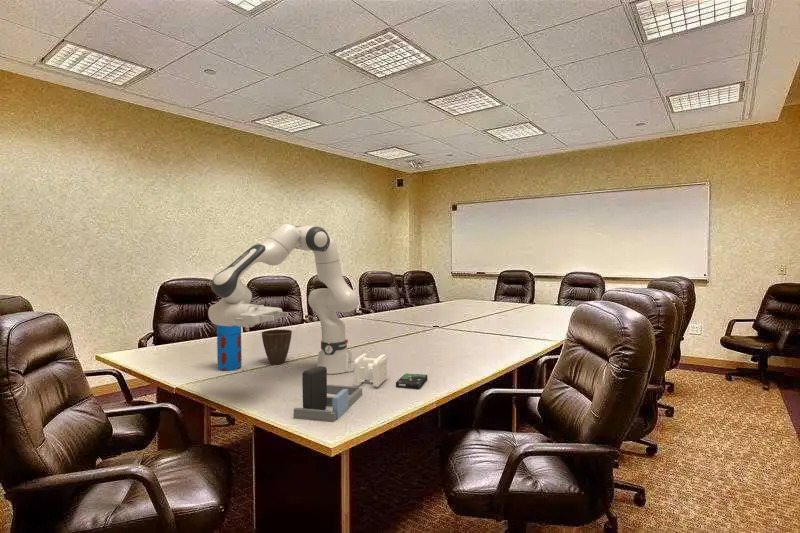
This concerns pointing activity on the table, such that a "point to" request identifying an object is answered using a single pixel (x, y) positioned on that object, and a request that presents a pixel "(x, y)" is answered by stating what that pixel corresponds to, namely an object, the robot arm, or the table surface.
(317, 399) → the card reader
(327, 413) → the comb rack
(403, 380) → the disk drive
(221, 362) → the thermos
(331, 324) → the robot arm
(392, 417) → the table surface
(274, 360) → the plant pot
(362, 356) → the cable organizer
